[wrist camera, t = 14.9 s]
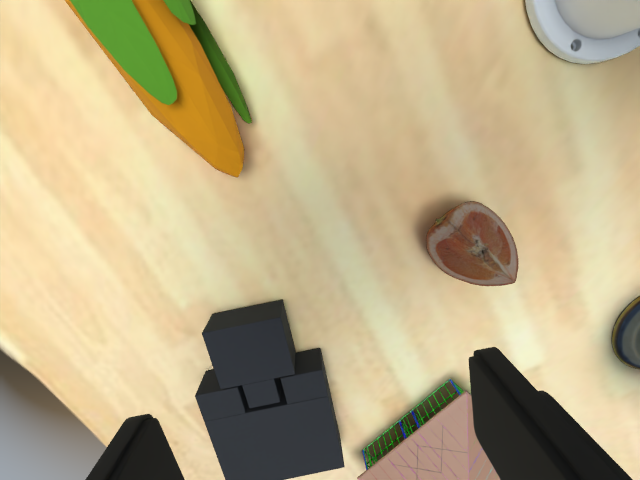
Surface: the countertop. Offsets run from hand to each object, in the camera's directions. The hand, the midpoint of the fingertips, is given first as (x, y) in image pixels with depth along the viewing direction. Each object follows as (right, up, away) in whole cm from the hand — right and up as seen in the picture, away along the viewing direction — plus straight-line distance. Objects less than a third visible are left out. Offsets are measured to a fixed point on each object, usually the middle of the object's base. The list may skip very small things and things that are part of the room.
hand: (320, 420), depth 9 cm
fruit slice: (+13, +6, +21) cm, 25 cm away
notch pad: (-5, -13, +25) cm, 28 cm away
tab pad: (-6, -5, +23) cm, 24 cm away
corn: (-11, +20, +16) cm, 27 cm away
